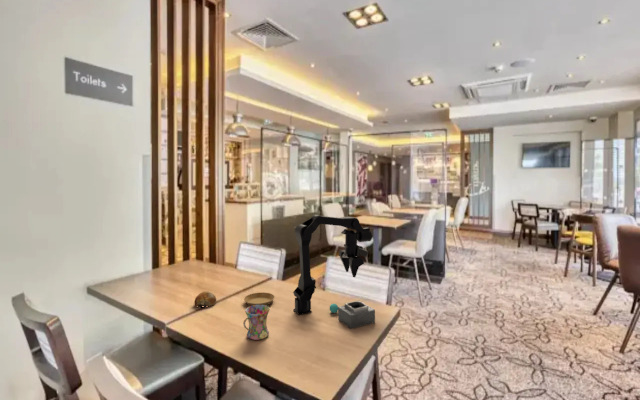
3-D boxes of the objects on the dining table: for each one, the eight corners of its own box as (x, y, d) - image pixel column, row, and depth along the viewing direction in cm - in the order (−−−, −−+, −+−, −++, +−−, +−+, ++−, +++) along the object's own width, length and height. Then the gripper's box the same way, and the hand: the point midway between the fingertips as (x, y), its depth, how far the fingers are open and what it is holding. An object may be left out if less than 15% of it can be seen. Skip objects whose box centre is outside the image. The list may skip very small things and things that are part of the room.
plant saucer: (250, 296, 169) (250, 291, 169) (278, 298, 167) (278, 293, 166) (239, 307, 154) (239, 302, 154) (269, 309, 152) (269, 304, 152)
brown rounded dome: (218, 310, 160) (222, 294, 162) (204, 309, 151) (208, 291, 154) (203, 307, 164) (207, 291, 166) (188, 305, 155) (193, 288, 158)
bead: (332, 315, 145) (332, 306, 145) (327, 311, 149) (327, 303, 149) (340, 313, 147) (340, 304, 147) (335, 310, 151) (335, 301, 150)
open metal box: (351, 329, 132) (351, 312, 132) (338, 319, 141) (338, 303, 140) (374, 322, 138) (374, 306, 137) (361, 313, 147) (361, 298, 146)
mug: (257, 328, 133) (256, 302, 133) (274, 333, 129) (274, 307, 128) (235, 341, 123) (234, 313, 122) (253, 347, 118) (253, 319, 118)
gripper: (374, 245, 152) (374, 278, 153) (359, 238, 169) (358, 268, 170) (352, 247, 148) (351, 280, 150) (338, 239, 166) (338, 269, 167)
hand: (350, 274), depth 159 cm, fingers open, 9 cm apart
